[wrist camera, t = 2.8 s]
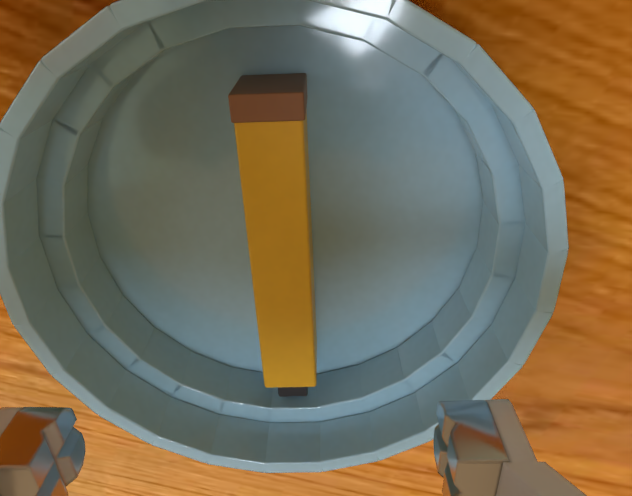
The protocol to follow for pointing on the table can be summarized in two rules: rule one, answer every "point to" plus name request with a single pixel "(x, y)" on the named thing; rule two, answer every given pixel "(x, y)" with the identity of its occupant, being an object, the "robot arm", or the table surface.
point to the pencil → (278, 223)
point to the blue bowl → (231, 236)
